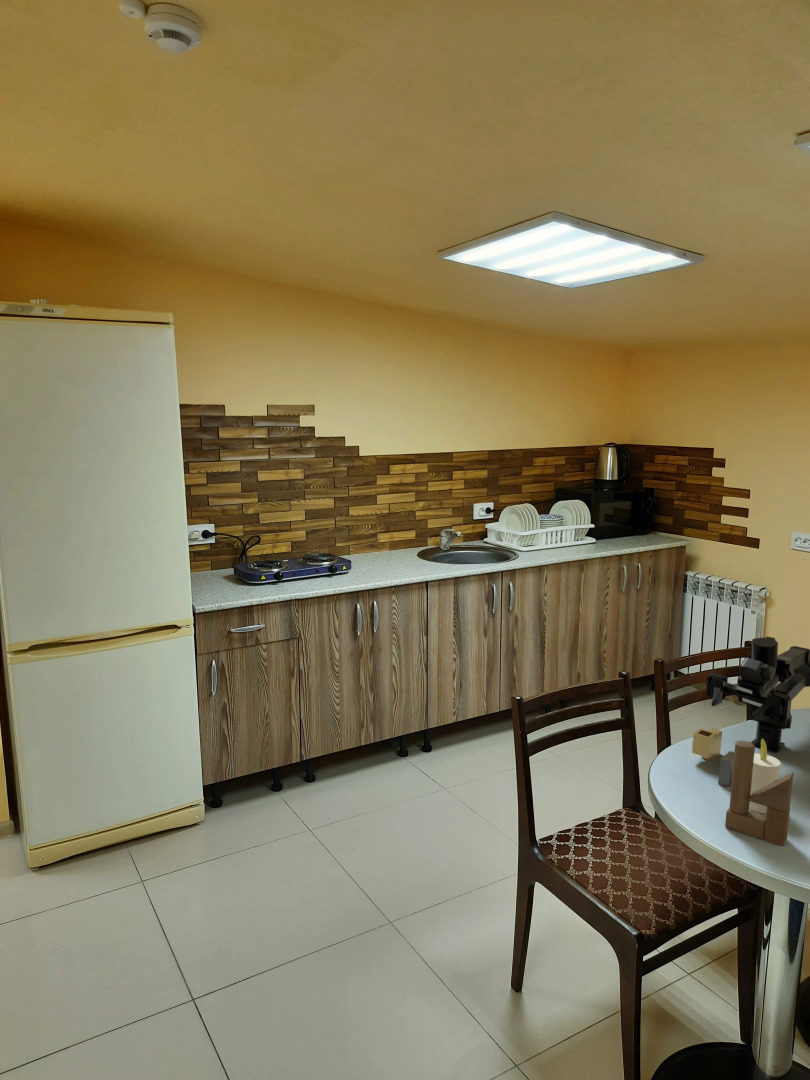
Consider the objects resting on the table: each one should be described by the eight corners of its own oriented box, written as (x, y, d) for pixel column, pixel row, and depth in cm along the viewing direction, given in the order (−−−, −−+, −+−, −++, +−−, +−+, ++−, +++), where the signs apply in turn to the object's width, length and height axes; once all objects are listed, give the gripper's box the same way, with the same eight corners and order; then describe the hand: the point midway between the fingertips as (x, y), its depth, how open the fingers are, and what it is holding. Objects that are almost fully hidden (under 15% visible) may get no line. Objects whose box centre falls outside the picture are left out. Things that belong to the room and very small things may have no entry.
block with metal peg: (731, 767, 172) (733, 738, 171) (748, 773, 169) (751, 743, 168) (714, 782, 164) (717, 751, 163) (732, 788, 162) (735, 757, 161)
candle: (765, 816, 150) (771, 749, 148) (737, 802, 156) (743, 737, 153) (783, 809, 153) (789, 743, 151) (754, 795, 159) (761, 731, 156)
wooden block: (783, 847, 139) (792, 760, 136) (724, 827, 146) (732, 744, 143) (787, 839, 142) (796, 753, 139) (729, 820, 148) (736, 738, 146)
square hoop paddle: (707, 749, 182) (709, 721, 181) (723, 754, 179) (726, 726, 178) (691, 762, 175) (693, 733, 173) (707, 767, 172) (710, 738, 171)
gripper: (723, 643, 179) (694, 667, 169) (803, 666, 166) (777, 693, 156) (720, 683, 183) (692, 708, 173) (799, 708, 170) (773, 737, 160)
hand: (732, 710), depth 165 cm, fingers open, 9 cm apart
